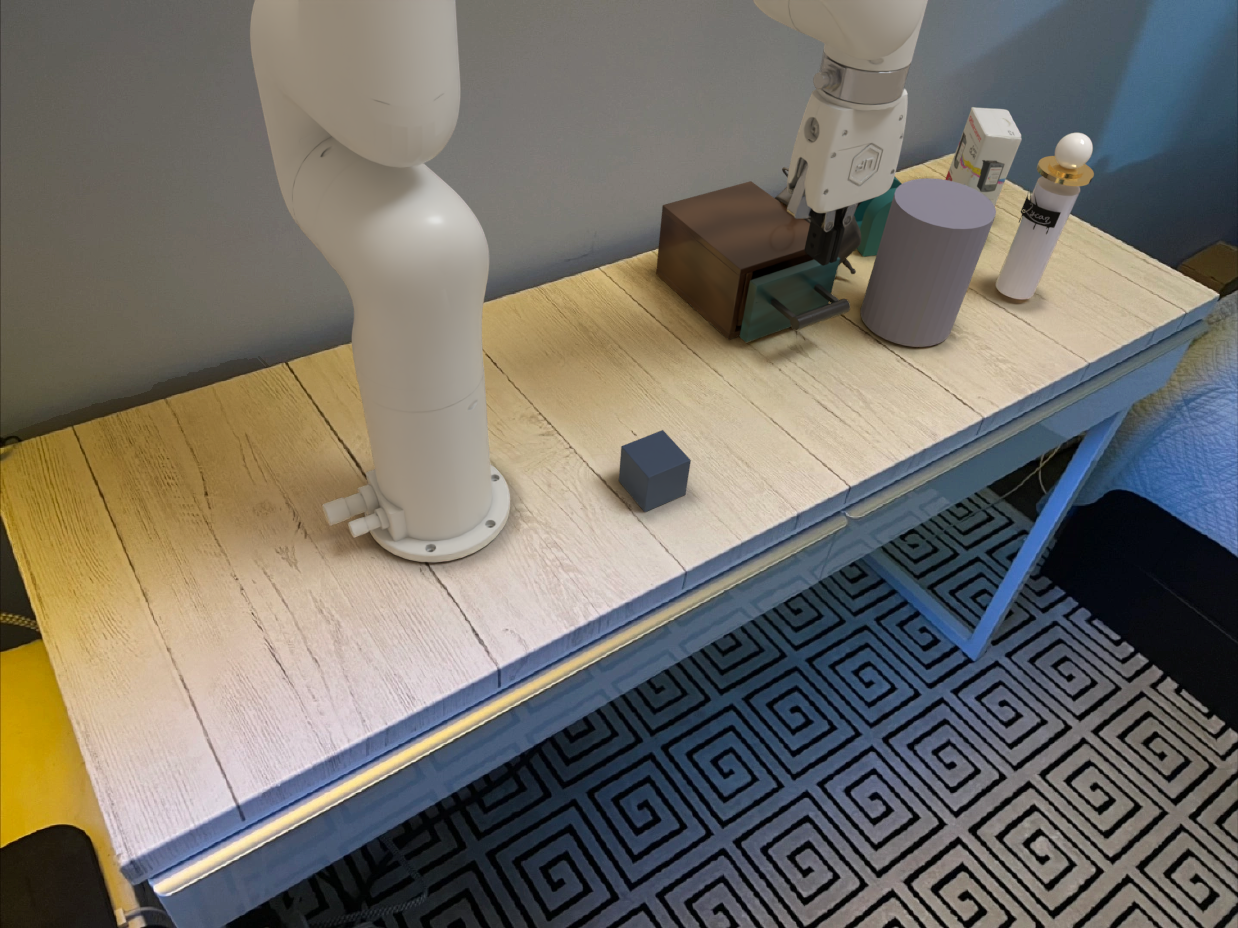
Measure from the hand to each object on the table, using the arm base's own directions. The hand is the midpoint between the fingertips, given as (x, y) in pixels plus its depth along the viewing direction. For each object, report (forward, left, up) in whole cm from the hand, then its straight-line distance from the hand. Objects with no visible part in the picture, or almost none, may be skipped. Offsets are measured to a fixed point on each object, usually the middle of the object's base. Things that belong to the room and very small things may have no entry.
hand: (820, 256), depth 93 cm
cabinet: (0, +12, -11) cm, 16 cm away
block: (-26, -10, -11) cm, 30 cm away
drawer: (0, +6, -10) cm, 12 cm away
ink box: (+41, +14, -11) cm, 45 cm away
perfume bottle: (+30, -4, -11) cm, 32 cm away
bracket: (+28, +11, -11) cm, 33 cm away
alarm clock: (+15, +11, -10) cm, 21 cm away
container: (+14, -2, -11) cm, 18 cm away
